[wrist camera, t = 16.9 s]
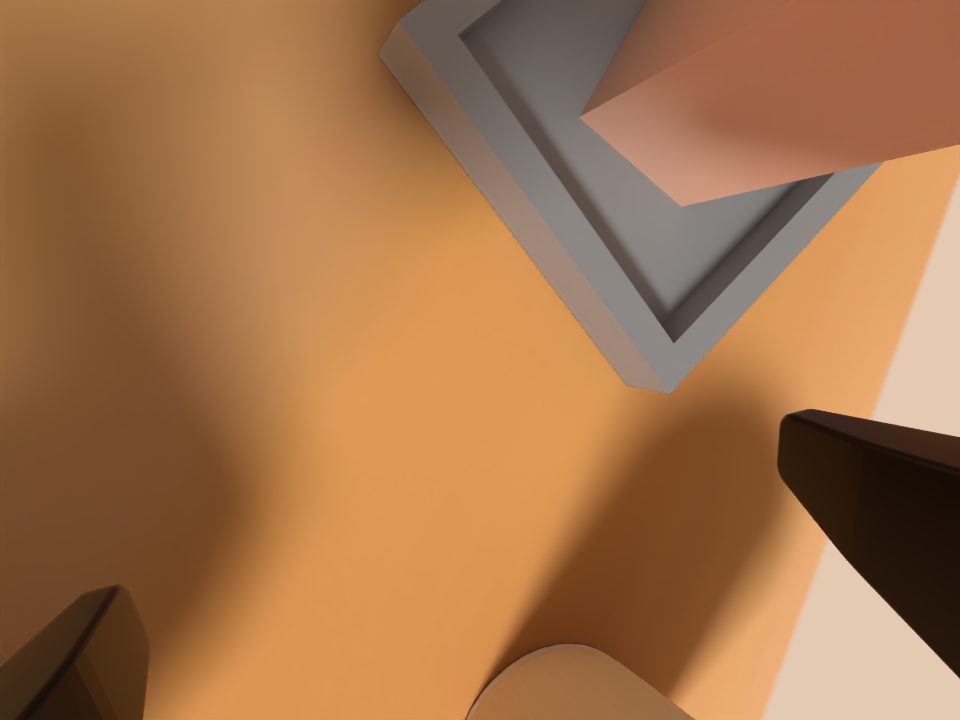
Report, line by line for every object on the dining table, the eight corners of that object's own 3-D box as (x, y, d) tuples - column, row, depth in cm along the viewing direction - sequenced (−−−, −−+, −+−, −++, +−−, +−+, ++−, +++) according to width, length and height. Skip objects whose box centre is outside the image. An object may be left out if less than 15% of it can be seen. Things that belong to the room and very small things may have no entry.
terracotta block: (681, 206, 22) (1204, 89, 10) (578, 117, 21) (1065, -151, 9) (743, 93, 23) (1304, -142, 11) (648, -3, 21) (1193, -409, 9)
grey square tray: (626, 385, 23) (669, 394, 21) (378, 55, 19) (398, 20, 17) (842, 157, 26) (900, 143, 24) (669, -171, 22) (720, -227, 20)
